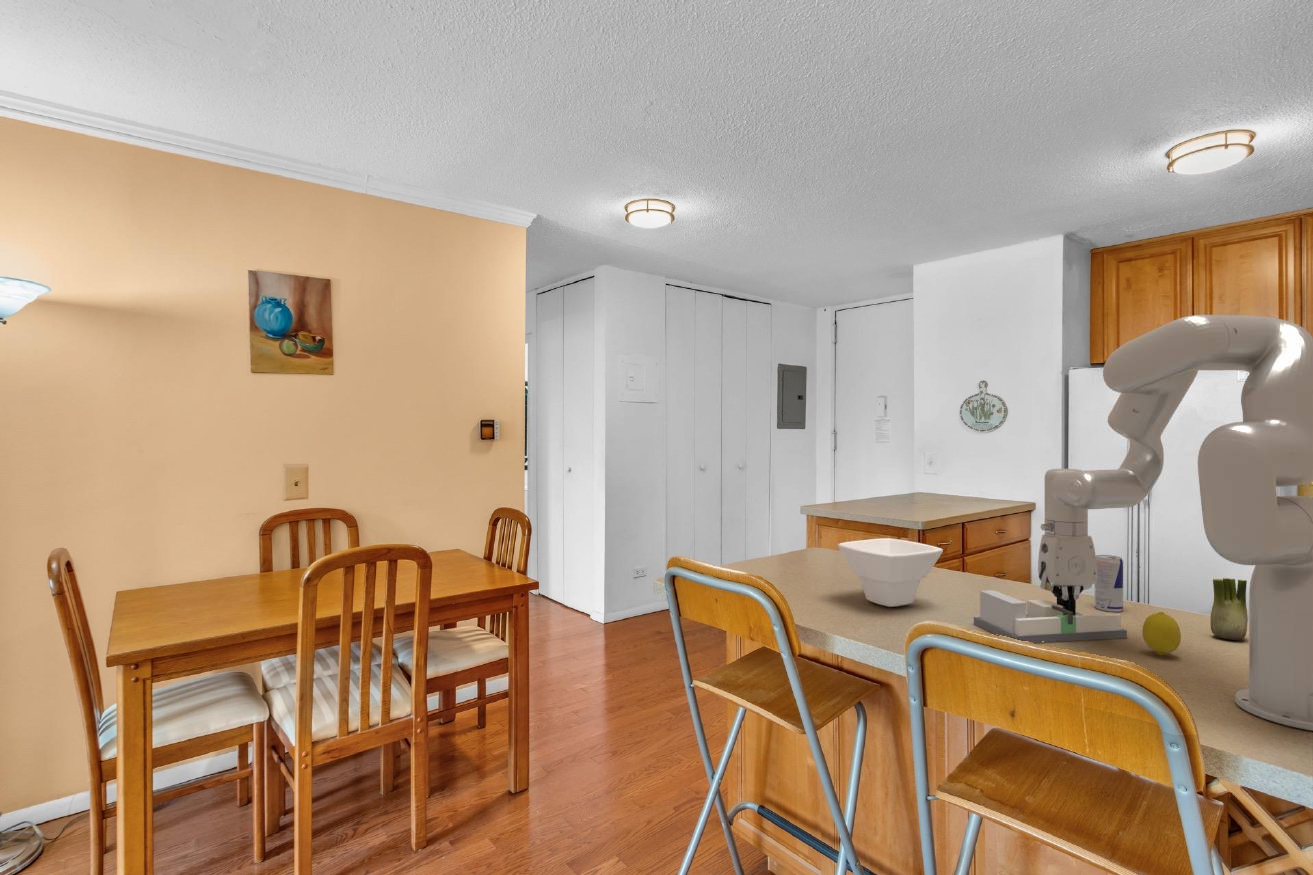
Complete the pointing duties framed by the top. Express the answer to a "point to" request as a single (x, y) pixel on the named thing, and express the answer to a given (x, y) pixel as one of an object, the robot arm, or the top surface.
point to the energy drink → (1109, 583)
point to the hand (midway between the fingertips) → (1066, 617)
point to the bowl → (890, 567)
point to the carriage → (1046, 610)
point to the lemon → (1161, 633)
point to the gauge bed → (1042, 622)
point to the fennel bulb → (1229, 609)
